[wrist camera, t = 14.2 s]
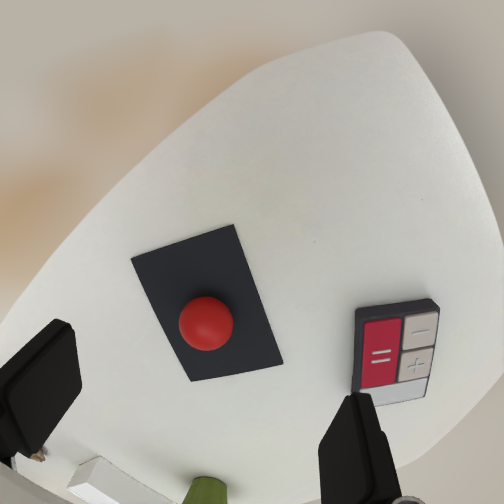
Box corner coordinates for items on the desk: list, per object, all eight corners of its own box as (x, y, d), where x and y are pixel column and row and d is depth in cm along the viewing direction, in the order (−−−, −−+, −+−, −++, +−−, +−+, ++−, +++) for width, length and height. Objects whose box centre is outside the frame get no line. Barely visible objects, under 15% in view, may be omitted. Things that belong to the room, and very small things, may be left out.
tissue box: (100, 455, 55) (82, 489, 45) (183, 506, 60) (174, 539, 49) (78, 465, 59) (62, 494, 49) (152, 512, 64) (143, 541, 53)
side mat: (131, 258, 39) (130, 259, 39) (233, 224, 37) (232, 224, 36) (191, 380, 44) (190, 381, 44) (283, 362, 42) (283, 364, 42)
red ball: (179, 291, 39) (161, 324, 34) (225, 281, 38) (213, 315, 32) (200, 330, 42) (187, 364, 36) (244, 322, 40) (236, 358, 34)
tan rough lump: (42, 446, 64) (56, 462, 59) (28, 459, 59) (41, 476, 54) (19, 421, 60) (31, 437, 55) (4, 435, 55) (15, 452, 49)
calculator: (443, 309, 34) (426, 400, 37) (430, 295, 38) (417, 383, 42) (361, 321, 35) (355, 413, 39) (353, 306, 39) (350, 395, 43)
